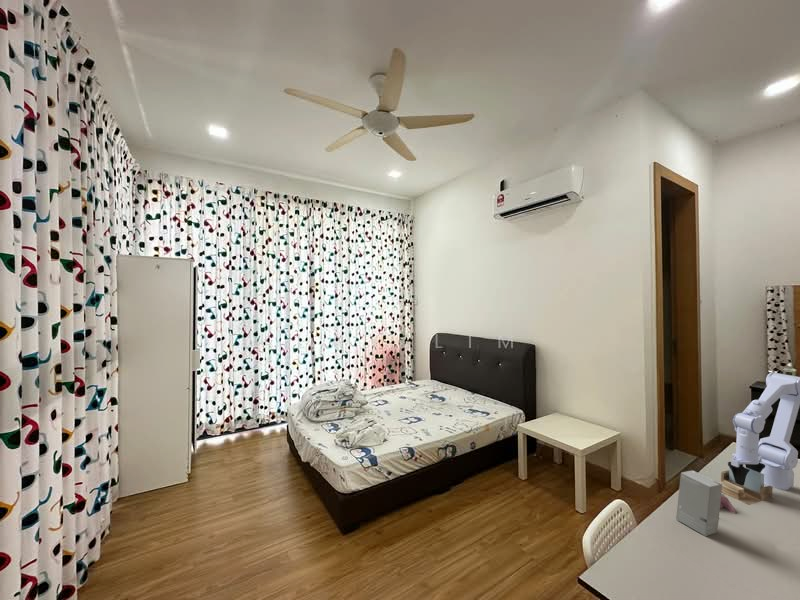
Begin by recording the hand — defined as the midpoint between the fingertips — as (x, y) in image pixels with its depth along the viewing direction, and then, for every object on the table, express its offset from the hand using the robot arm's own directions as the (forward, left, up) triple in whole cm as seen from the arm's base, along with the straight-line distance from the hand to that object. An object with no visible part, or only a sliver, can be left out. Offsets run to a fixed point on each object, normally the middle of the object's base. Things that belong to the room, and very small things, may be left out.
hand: (745, 482), depth 124 cm
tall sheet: (0, 0, -3) cm, 3 cm away
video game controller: (+24, +3, -4) cm, 25 cm away
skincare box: (+39, +7, -4) cm, 40 cm away
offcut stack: (+8, 0, -3) cm, 9 cm away
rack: (+4, 0, -4) cm, 6 cm away
